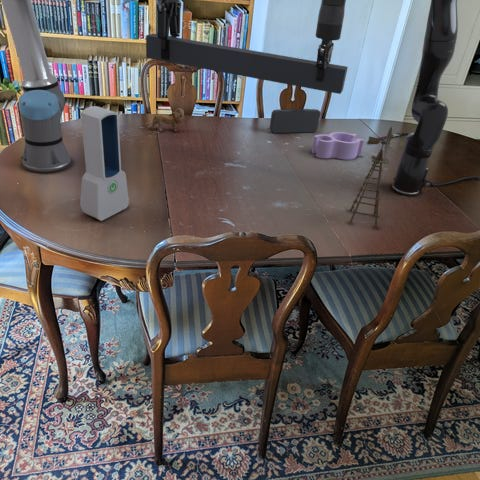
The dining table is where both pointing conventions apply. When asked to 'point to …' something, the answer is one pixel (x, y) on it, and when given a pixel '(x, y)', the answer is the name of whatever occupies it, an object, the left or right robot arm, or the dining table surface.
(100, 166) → the electronic device
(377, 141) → the miniature windmill
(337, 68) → the bar
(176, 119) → the lion figurine
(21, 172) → the dining table surface
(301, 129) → the handheld gaming console
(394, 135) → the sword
